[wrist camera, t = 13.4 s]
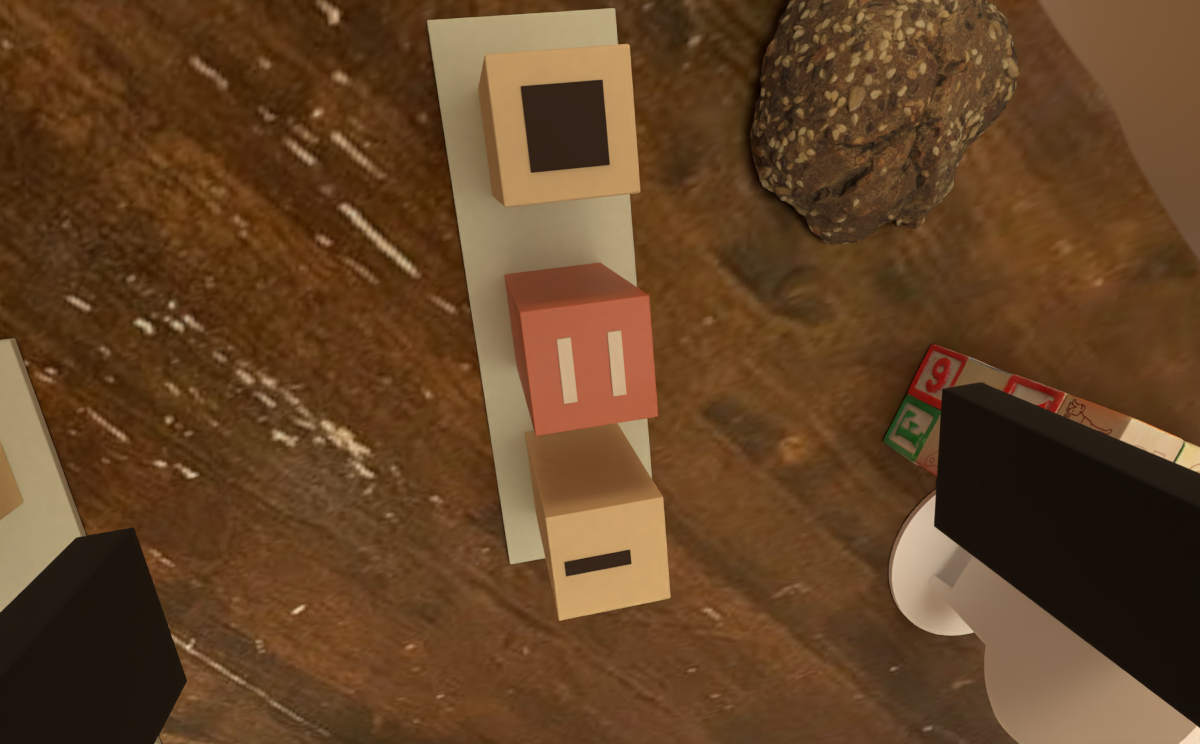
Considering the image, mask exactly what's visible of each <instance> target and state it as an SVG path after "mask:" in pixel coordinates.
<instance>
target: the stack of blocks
mask: <svg viewBox="0 0 1200 744" xmlns="http://www.w3.org/2000/svg"><path fill="white" fill-rule="evenodd" d="M978 382H982V383H984V384H987V385H989V386H992V387H994V388H996V389H999V390H1001V391H1004V392H1006V393H1008V394H1011V395H1013V396H1016V397H1018V398H1020V399H1023V400H1025V401H1028V402H1030V403H1032V404H1035V405H1037V406H1040V407H1042V408H1044V409H1047V410H1049V411H1052V412H1054V413H1056V414H1059V415H1061V416H1064V417H1066V418H1068V419H1071V420H1073V421H1076V422H1078V423H1080V424H1083V425H1085V426H1088V427H1090V428H1092V429H1095V430H1097V431H1100V432H1102V433H1104V434H1107V435H1109V436H1112V437H1114V438H1116V439H1119V440H1121V441H1124V442H1126V443H1128V444H1131V445H1133V446H1136V447H1138V448H1140V449H1143V450H1145V451H1148V452H1150V453H1152V454H1155V455H1157V456H1160V457H1162V458H1164V459H1167V460H1169V461H1172V462H1174V463H1176V464H1179V465H1181V466H1184V467H1186V468H1188V469H1191V470H1193V471H1196V472H1198V473H1200V447H1198V446H1195V445H1193V444H1191V443H1188V442H1186V441H1183V440H1182V439H1181V438H1179V437H1177V436H1174V435H1172V434H1170V433H1167V432H1165V431H1163V430H1161V429H1158V428H1156V427H1154V426H1152V425H1149V424H1147V423H1145V422H1142V421H1140V420H1138V419H1135V418H1133V417H1130V416H1127V415H1125V414H1122V413H1119V412H1116V411H1114V410H1111V409H1108V408H1105V407H1103V406H1100V405H1097V404H1095V403H1092V402H1089V401H1086V400H1084V399H1081V398H1078V397H1075V396H1072V395H1070V394H1067V393H1065V392H1062V391H1059V390H1057V389H1054V388H1052V387H1049V386H1046V385H1044V384H1041V383H1038V382H1035V381H1033V380H1030V379H1027V378H1024V377H1021V376H1018V375H1013V374H1011V373H1008V372H1005V371H1002V370H1000V369H997V368H995V367H993V366H990V365H988V364H986V363H983V362H981V361H979V360H976V359H974V358H972V357H969V356H966V355H963V354H960V353H957V352H955V351H952V350H949V349H947V348H944V347H941V346H939V345H935V344H932V345H931V346H930V348H929V350H928V352H927V354H926V356H925V358H924V360H923V361H922V363H921V366H920V368H919V370H918V371H917V373H916V376H915V378H914V380H913V382H912V384H911V386H910V388H909V389H908V395H907V396H906V398H905V399H904V401H903V403H902V404H901V406H900V408H899V410H898V412H897V414H896V416H895V418H894V420H893V422H892V424H891V426H890V428H889V430H888V432H887V434H886V436H885V438H884V440H883V441H884V443H885V444H886V445H888V446H889V447H891V448H892V449H894V450H895V451H896V452H898V453H899V454H901V455H902V456H904V457H905V458H906V459H908V460H909V461H911V462H912V463H914V464H916V465H918V466H921V467H923V468H924V469H926V470H927V471H929V472H930V473H932V474H933V475H935V476H936V477H937V466H938V450H939V434H940V417H941V401H942V389H943V388H949V387H955V386H961V385H967V384H973V383H978Z"/></svg>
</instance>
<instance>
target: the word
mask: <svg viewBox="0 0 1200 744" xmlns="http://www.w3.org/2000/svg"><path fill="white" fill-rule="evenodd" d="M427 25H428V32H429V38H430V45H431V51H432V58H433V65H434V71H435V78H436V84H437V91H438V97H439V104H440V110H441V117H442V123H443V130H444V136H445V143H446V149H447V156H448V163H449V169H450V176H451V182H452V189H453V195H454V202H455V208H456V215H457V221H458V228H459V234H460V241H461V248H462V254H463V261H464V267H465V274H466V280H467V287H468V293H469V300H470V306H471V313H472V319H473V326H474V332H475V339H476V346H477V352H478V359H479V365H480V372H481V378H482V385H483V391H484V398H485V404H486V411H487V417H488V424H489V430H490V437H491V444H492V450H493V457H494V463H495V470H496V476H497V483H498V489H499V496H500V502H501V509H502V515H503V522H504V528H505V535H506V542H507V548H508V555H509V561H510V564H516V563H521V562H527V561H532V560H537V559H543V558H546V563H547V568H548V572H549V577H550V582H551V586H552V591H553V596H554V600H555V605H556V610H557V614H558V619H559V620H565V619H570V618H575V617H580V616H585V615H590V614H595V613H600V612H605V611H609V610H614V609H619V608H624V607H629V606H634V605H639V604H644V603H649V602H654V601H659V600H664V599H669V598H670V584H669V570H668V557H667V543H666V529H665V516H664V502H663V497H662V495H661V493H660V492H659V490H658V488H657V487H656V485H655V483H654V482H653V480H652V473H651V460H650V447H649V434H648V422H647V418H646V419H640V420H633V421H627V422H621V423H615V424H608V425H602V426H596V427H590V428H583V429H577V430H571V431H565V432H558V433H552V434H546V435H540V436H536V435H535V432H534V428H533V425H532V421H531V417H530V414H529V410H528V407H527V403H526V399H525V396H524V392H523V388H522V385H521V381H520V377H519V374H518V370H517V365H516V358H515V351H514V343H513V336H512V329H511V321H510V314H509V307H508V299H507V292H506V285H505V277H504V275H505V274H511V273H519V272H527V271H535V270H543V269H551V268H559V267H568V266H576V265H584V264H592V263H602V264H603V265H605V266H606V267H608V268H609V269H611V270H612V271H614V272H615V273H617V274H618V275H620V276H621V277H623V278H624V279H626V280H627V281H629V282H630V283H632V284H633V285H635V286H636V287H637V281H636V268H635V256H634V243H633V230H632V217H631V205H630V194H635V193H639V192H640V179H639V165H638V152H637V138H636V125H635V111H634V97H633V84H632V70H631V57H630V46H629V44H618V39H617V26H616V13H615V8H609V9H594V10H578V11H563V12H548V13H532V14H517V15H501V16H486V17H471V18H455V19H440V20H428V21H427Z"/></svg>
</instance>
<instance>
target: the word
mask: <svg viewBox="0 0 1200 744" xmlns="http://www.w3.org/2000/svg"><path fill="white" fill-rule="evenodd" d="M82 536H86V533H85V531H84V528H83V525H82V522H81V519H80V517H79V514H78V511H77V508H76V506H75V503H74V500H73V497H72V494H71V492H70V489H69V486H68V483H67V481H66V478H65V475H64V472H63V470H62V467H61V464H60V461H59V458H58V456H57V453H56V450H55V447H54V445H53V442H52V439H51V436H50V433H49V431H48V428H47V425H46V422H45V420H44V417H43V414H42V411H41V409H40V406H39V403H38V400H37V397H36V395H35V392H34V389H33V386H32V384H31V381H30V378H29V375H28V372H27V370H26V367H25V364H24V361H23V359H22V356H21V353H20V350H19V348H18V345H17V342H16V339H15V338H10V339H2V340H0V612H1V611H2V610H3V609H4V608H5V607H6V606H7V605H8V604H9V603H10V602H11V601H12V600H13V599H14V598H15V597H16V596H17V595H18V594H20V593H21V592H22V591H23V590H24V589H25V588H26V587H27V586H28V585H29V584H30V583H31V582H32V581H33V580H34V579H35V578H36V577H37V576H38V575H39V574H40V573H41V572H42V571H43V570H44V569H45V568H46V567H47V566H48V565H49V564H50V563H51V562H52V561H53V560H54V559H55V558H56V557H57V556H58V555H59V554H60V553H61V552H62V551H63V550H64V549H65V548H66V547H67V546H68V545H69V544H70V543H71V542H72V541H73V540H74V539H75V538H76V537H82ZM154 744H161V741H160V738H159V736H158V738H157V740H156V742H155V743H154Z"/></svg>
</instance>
